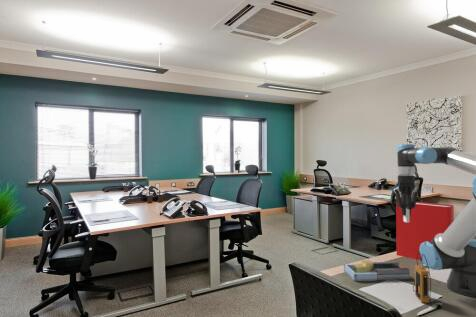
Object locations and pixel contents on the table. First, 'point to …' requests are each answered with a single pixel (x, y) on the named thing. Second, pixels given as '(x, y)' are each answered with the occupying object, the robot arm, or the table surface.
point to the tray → (359, 274)
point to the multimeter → (422, 283)
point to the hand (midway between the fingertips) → (406, 221)
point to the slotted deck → (391, 276)
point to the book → (421, 227)
